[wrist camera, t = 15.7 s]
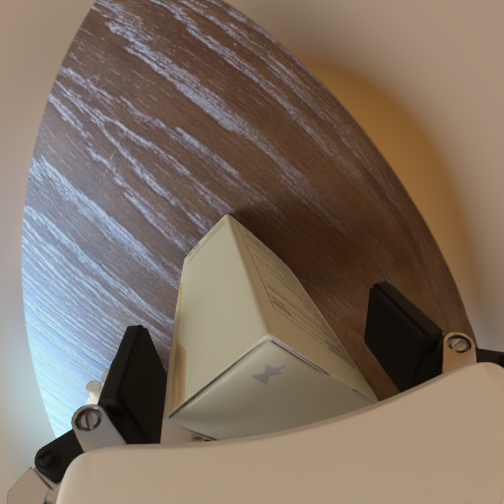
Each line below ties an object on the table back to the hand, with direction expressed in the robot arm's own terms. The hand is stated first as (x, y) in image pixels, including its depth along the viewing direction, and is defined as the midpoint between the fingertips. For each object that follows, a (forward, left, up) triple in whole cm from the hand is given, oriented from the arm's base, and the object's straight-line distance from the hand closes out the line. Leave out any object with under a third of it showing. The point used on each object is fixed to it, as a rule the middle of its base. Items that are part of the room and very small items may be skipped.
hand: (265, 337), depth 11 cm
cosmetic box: (0, 0, -8) cm, 8 cm away
